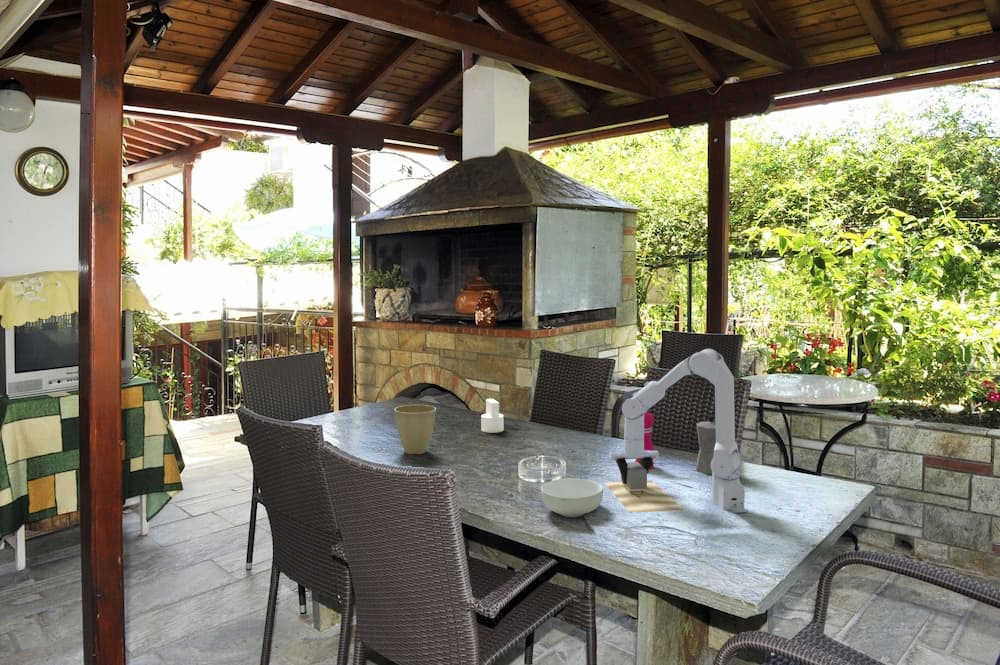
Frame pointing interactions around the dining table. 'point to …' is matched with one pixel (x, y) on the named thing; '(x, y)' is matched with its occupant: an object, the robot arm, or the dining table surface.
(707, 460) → the coffeepot
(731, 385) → the robot arm
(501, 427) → the base with upright slab
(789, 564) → the dining table surface
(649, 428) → the pepper mill
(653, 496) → the birch board
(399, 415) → the plant pot
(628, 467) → the block
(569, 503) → the cereal bowl
